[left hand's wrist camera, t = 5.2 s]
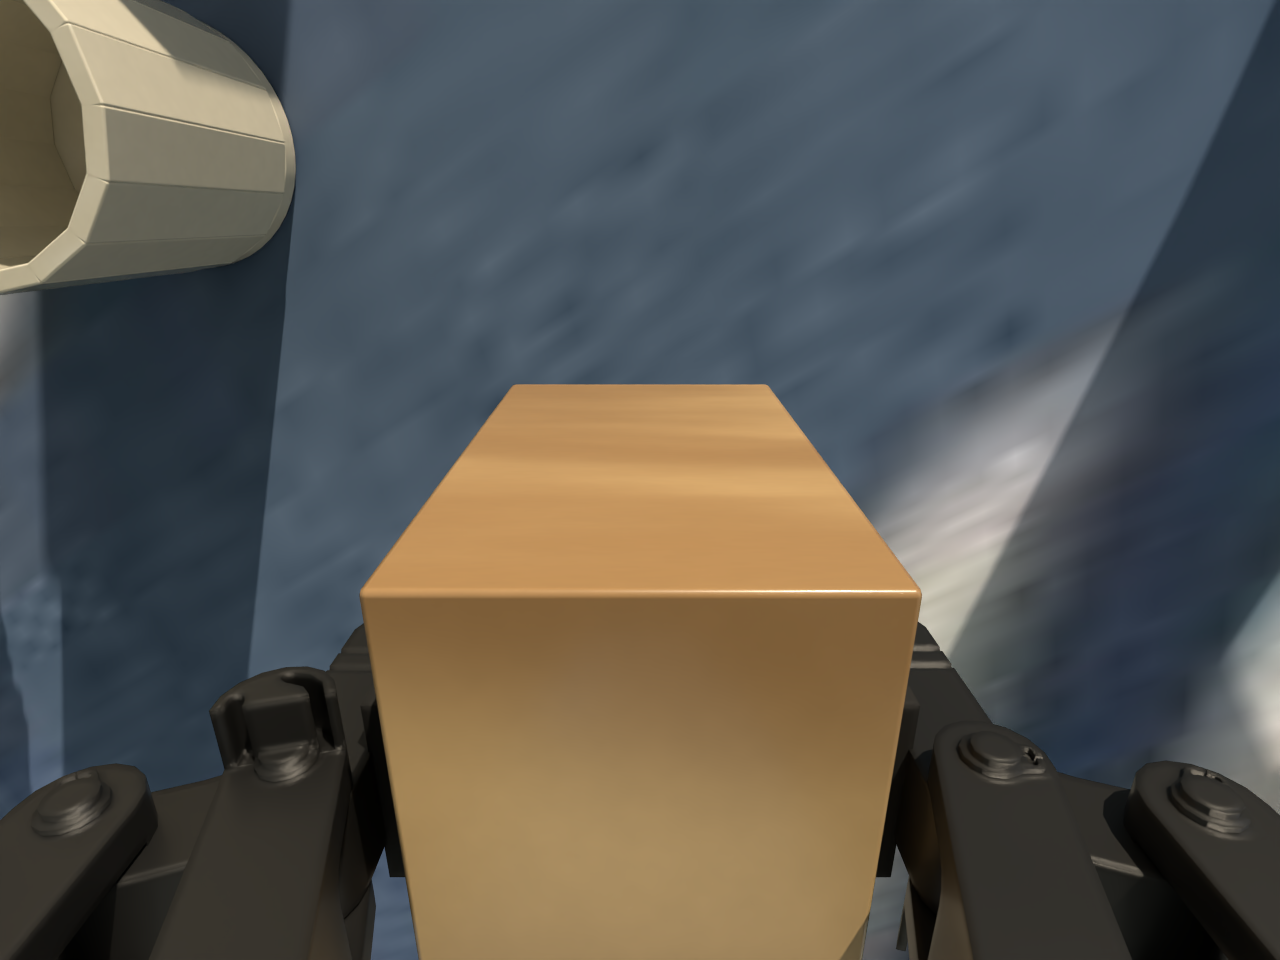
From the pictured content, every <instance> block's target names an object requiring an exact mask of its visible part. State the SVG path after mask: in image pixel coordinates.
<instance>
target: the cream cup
mask: <svg viewBox="0 0 1280 960" xmlns="http://www.w3.org/2000/svg"><path fill="white" fill-rule="evenodd" d="M295 172H296V166H295V151H294V145H293V139H292V135H291V131H290V127H289V124H288V120H287V118H286V115H285V113H284V110H283V108H282V105H281V103H280V101H279V99H278V97H277V95H276V94H275V92H274V90H273V88H272V86H271V85H270V83H269V82H268V80H267V79H266V77H265V76H264V74H263V73H262V71H261V70H260V69H259V68H258V67H257V65H256V64H255V63H254V62H253V61H252V60H251V58H250V57H249V56H248V55H247V54H246V53H245V52H244V51H243V50H242V49H241V48H239V47H238V46H237V45H236V44H235V43H234V42H233V41H231V40H230V39H229V38H227V37H226V36H225V35H223V34H222V33H221V32H219V31H217V30H216V29H214V28H212V27H211V26H209V25H207V24H206V23H204V22H201V21H199V20H197V19H195V18H194V17H192V16H191V15H189V14H188V13H186V12H185V11H183V10H181V9H179V8H176V7H174V6H172V5H170V4H168V3H165V2H163V1H161V0H0V295H5V294H13V293H21V292H30V291H38V290H46V289H54V288H62V287H71V286H79V285H87V284H95V283H103V282H112V281H120V280H128V279H136V278H144V277H153V276H161V275H169V274H177V273H185V272H193V271H197V270H202V269H206V268H213V267H220V266H225V265H229V264H232V263H235V262H238V261H240V260H242V259H244V258H246V257H249V256H250V255H252V254H253V253H255V252H256V251H258V250H259V249H260V248H262V247H263V246H264V245H265V244H266V243H267V242H268V241H269V240H270V239H271V238H272V236H273V235H274V234H275V232H276V231H277V230H278V229H279V227H280V225H281V223H282V222H283V220H284V218H285V216H286V214H287V211H288V208H289V206H290V203H291V199H292V195H293V190H294V185H295Z"/></svg>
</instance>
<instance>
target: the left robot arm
mask: <svg viewBox="0 0 1280 960" xmlns="http://www.w3.org/2000/svg"><path fill="white" fill-rule="evenodd" d="M209 713H210V716H211V720H212V724H213V728H214V731H215V735H216V739H217V742H218V746H219V750H220V754H221V757H222V761H223V765H224V769H225V770H224V772H223V775H221V776H217V777H214V778H211V779H207V780H204V781H199V782H195V783H191V784H186V785H182V786H177V787H173V788H169V789H164V790H160V791H155V792H151V791H150V788H149V785H148V782H147V779H146V776H145V775H144V774H143V773H142V772H141V771H140V770H138V769H137V768H136V767H135V766H129V765H122V764H109V765H101V766H94V767H89V768H86V769H83V770H80V771H77V772H74V773H71V774H69V775H66V776H63V777H61V778H59V779H57V780H55V781H53V782H52V783H50V784H48V785H46V786H44V787H42V788H40V789H38V790H36V791H35V792H34V793H32V794H31V795H30V796H28V797H27V798H26V799H25V800H23V801H22V802H21V803H19V804H18V805H17V806H16V807H14V808H13V809H12V810H11V811H10V812H9V813H8V814H7V815H6V816H5V817H3V818H2V819H1V820H0V960H371V950H372V940H373V930H374V920H375V911H376V904H375V897H374V890H373V884H372V876H373V874H374V871H375V869H376V866H377V864H378V861H379V859H380V856H381V854H382V851H383V849H384V846H385V852H386V857H387V863H388V869H389V875H390V877H405V872H404V866H403V860H402V853H401V847H400V841H399V835H398V829H397V823H396V817H395V810H394V804H393V798H392V792H391V786H390V780H389V774H388V768H387V761H386V755H385V749H384V743H383V737H382V731H381V725H380V719H379V712H378V706H377V700H376V694H375V688H374V682H373V676H372V670H371V663H370V657H369V651H368V645H367V639H366V633H365V627H364V623H363V624H362V625H361V626H359V627H358V628H356V629H355V630H354V632H353V633H352V635H351V636H350V638H349V639H348V641H347V642H346V643H345V645H344V646H343V648H342V649H341V653H339V654H338V655H337V657H336V658H335V659H334V661H333V662H332V664H331V665H330V670H327V671H326V672H325V671H323V670H319V669H315V668H311V667H285V668H281V669H277V670H272V671H268V672H264V673H261V674H259V675H256V676H254V677H252V678H249V679H247V680H245V681H243V682H240V683H239V684H237V685H236V686H234V687H233V688H232V689H230V690H229V691H227V692H226V693H224V694H223V695H222V696H220V698H219V699H218V700H217V702H216V703H215V704H214V705H213V707H212V708H211V709H210V710H209ZM896 844H897V847H898V849H899V852H900V854H901V857H902V859H903V861H904V864H905V866H906V869H907V871H908V874H909V879H908V884H907V890H906V895H905V901H904V906H903V911H902V917H901V922H900V927H899V933H898V940H897V947H896V949H898V950H902V951H906V946H907V941H908V948H909V958H910V960H1280V815H1279V814H1278V813H1276V812H1275V811H1274V810H1273V809H1272V808H1271V807H1270V806H1269V805H1268V804H1266V803H1265V802H1264V801H1263V800H1261V799H1260V798H1259V797H1257V796H1256V795H1255V794H1253V793H1252V792H1251V791H1250V790H1248V789H1247V788H1245V787H1243V786H1242V785H1240V784H1238V783H1236V782H1234V781H1232V780H1230V779H1228V778H1226V777H1224V776H1223V775H1221V774H1219V773H1216V772H1213V771H1210V770H1208V769H1204V768H1201V767H1198V766H1195V765H1192V764H1187V763H1179V762H1172V761H1160V762H1154V763H1147V764H1146V765H1144V766H1143V767H1142V768H1141V769H1140V770H1139V771H1137V772H1136V775H1135V778H1134V781H1133V784H1132V787H1131V790H1129V789H1125V788H1120V787H1116V786H1112V785H1107V784H1103V783H1098V782H1094V781H1090V780H1085V779H1081V778H1076V777H1073V776H1070V775H1066V774H1063V773H1059V772H1057V771H1056V769H1055V767H1054V766H1053V764H1052V763H1051V761H1050V760H1049V758H1048V757H1047V755H1046V754H1045V752H1043V751H1042V750H1041V749H1040V748H1038V747H1037V746H1036V745H1035V744H1034V743H1032V742H1031V741H1030V740H1029V739H1027V738H1025V737H1023V736H1021V735H1019V734H1017V733H1015V732H1013V731H1011V730H1009V729H1007V728H1005V727H1002V726H998V725H994V724H992V722H991V721H990V719H989V718H988V716H987V715H986V713H985V712H984V711H983V709H982V708H981V706H980V705H979V703H978V702H977V700H976V699H975V698H974V696H973V695H972V693H971V692H970V690H969V689H968V687H967V686H966V685H965V683H964V682H963V680H962V679H961V677H960V676H959V674H958V673H957V672H956V670H955V669H954V668H951V663H950V661H949V660H948V659H947V657H946V656H945V654H944V653H943V651H940V647H939V646H938V644H937V643H936V641H935V640H934V638H933V637H932V636H931V634H930V633H929V631H928V630H927V628H926V627H925V626H923V625H922V624H921V623H919V622H918V623H917V629H916V635H915V641H914V647H913V653H912V659H911V665H910V671H909V677H908V683H907V689H906V696H905V702H904V708H903V714H902V720H901V726H900V732H899V738H898V744H897V750H896V756H895V762H894V768H893V774H892V780H891V786H890V792H889V799H888V805H887V811H886V817H885V823H884V829H883V835H882V841H881V847H880V853H879V859H878V865H877V871H876V877H891V872H892V866H893V860H894V855H895V849H896Z"/></svg>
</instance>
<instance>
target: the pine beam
mask: <svg viewBox="0 0 1280 960" xmlns="http://www.w3.org/2000/svg"><path fill="white" fill-rule="evenodd" d="M921 599H922V593H921V590H920V588H919V587H918V586H917V584H916V583H915V582H914V580H913V579H912V578H911V576H910V575H909V574H908V572H907V571H906V570H905V568H904V567H903V566H902V564H901V563H900V562H899V560H898V559H897V558H896V556H895V555H894V554H893V552H892V551H891V550H890V548H889V547H888V546H887V544H886V543H885V542H884V540H883V539H882V538H881V536H880V535H879V533H878V532H877V531H876V529H875V528H874V527H873V525H872V524H871V523H870V521H869V520H868V519H867V517H866V516H865V515H864V513H863V512H862V511H861V509H860V508H859V507H858V505H857V504H856V503H855V501H854V500H853V499H852V497H851V496H850V495H849V493H848V492H847V491H846V489H845V488H844V487H843V485H842V484H841V483H840V481H839V480H838V479H837V477H836V476H835V475H834V473H833V472H832V471H831V469H830V468H829V467H828V465H827V464H826V463H825V461H824V460H823V459H822V457H821V456H820V455H819V453H818V452H817V451H816V449H815V448H814V447H813V445H812V444H811V443H810V441H809V440H808V439H807V437H806V436H805V435H804V433H803V432H802V431H801V429H800V428H799V427H798V425H797V424H796V423H795V421H794V420H793V419H792V417H791V416H790V415H789V413H788V412H787V411H786V409H785V408H784V406H783V405H782V404H781V402H780V401H779V400H778V398H777V397H776V396H775V394H774V393H773V392H772V390H771V389H770V388H769V386H767V385H513V386H512V387H511V388H510V390H509V391H508V392H507V394H506V395H505V396H504V398H503V399H502V400H501V402H500V403H499V404H498V406H497V407H496V408H495V410H494V411H493V413H492V414H491V415H490V417H489V418H488V419H487V421H486V422H485V423H484V425H483V426H482V427H481V429H480V430H479V431H478V433H477V434H476V435H475V437H474V438H473V439H472V441H471V442H470V443H469V445H468V446H467V447H466V449H465V450H464V452H463V453H462V454H461V456H460V457H459V458H458V460H457V461H456V462H455V464H454V465H453V466H452V468H451V469H450V470H449V472H448V473H447V474H446V476H445V477H444V478H443V480H442V481H441V482H440V484H439V485H438V486H437V488H436V489H435V491H434V492H433V493H432V495H431V496H430V497H429V499H428V500H427V501H426V503H425V504H424V505H423V507H422V508H421V509H420V511H419V512H418V513H417V515H416V516H415V517H414V519H413V520H412V521H411V523H410V524H409V525H408V527H407V528H406V530H405V531H404V532H403V534H402V535H401V536H400V538H399V539H398V540H397V542H396V543H395V544H394V546H393V547H392V548H391V550H390V551H389V552H388V554H387V555H386V556H385V558H384V559H383V560H382V562H381V563H380V564H379V566H378V567H377V569H376V570H375V571H374V573H373V574H372V575H371V577H370V578H369V579H368V581H367V582H366V583H365V585H364V586H363V587H362V589H361V591H360V602H361V608H362V614H363V620H364V627H365V633H366V639H367V645H368V651H369V657H370V663H371V670H372V676H373V682H374V688H375V694H376V700H377V706H378V712H379V719H380V725H381V731H382V737H383V743H384V749H385V755H386V761H387V768H388V774H389V780H390V786H391V792H392V798H393V804H394V810H395V817H396V823H397V829H398V835H399V841H400V847H401V853H402V860H403V866H404V872H405V878H406V884H407V890H408V896H409V902H410V909H411V915H412V921H413V927H414V933H415V939H416V945H417V951H418V958H419V960H862V956H863V950H864V944H865V938H866V932H867V926H868V920H869V914H870V908H871V902H872V895H873V889H874V883H875V877H876V871H877V865H878V859H879V853H880V847H881V841H882V835H883V829H884V823H885V817H886V811H887V805H888V799H889V792H890V786H891V780H892V774H893V768H894V762H895V756H896V750H897V744H898V738H899V732H900V726H901V720H902V714H903V708H904V702H905V696H906V689H907V683H908V677H909V671H910V665H911V659H912V653H913V647H914V641H915V635H916V629H917V623H918V617H919V611H920V605H921Z"/></svg>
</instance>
